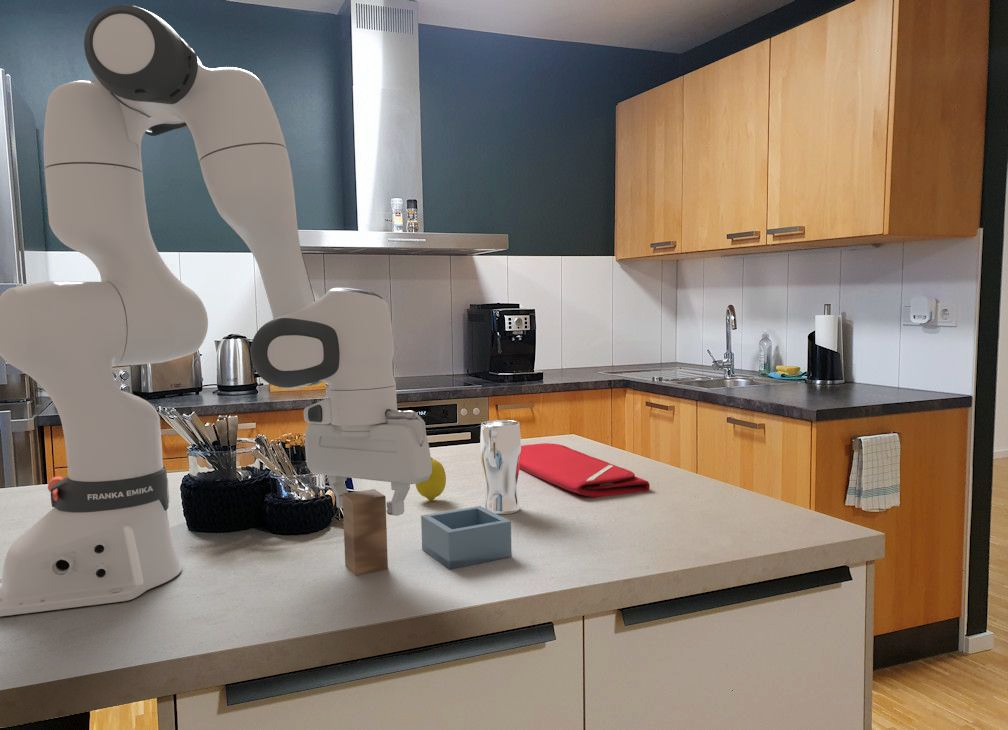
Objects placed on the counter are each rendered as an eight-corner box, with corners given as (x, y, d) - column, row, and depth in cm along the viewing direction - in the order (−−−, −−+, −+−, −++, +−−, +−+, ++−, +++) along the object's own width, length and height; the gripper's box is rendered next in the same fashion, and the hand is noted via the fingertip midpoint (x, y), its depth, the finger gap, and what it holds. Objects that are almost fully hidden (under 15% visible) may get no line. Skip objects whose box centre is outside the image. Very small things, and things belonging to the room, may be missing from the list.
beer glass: (508, 517, 125) (506, 427, 123) (473, 512, 128) (471, 424, 127) (529, 507, 130) (528, 421, 129) (495, 502, 134) (494, 418, 133)
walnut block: (355, 575, 99) (352, 500, 99) (345, 565, 103) (342, 493, 103) (387, 569, 102) (385, 495, 101) (376, 559, 105) (374, 488, 105)
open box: (449, 569, 101) (448, 532, 100) (422, 549, 109) (421, 515, 109) (511, 556, 105) (510, 521, 105) (480, 538, 114) (480, 505, 113)
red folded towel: (558, 453, 178) (558, 438, 178) (652, 493, 140) (652, 473, 140) (496, 460, 173) (495, 444, 173) (576, 503, 135) (575, 482, 134)
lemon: (441, 505, 133) (440, 460, 132) (411, 504, 134) (410, 460, 133) (450, 497, 138) (449, 454, 138) (421, 496, 139) (419, 453, 139)
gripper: (439, 408, 98) (444, 513, 99) (329, 404, 109) (334, 498, 110) (406, 414, 93) (412, 525, 94) (294, 409, 104) (301, 508, 105)
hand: (369, 510), depth 102 cm, fingers open, 8 cm apart
